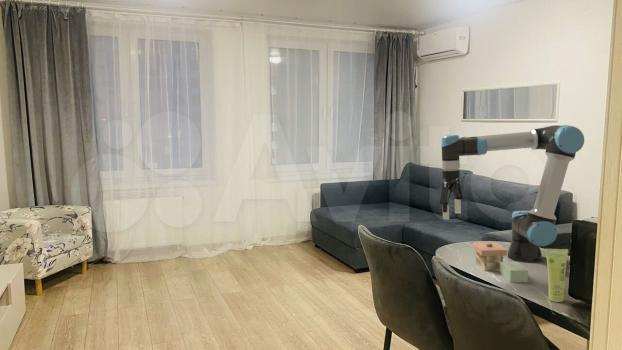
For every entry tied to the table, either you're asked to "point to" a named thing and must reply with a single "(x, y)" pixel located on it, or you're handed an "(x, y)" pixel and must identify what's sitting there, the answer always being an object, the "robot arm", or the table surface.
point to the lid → (490, 249)
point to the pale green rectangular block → (513, 272)
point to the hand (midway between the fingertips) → (452, 216)
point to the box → (489, 262)
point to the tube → (556, 273)
